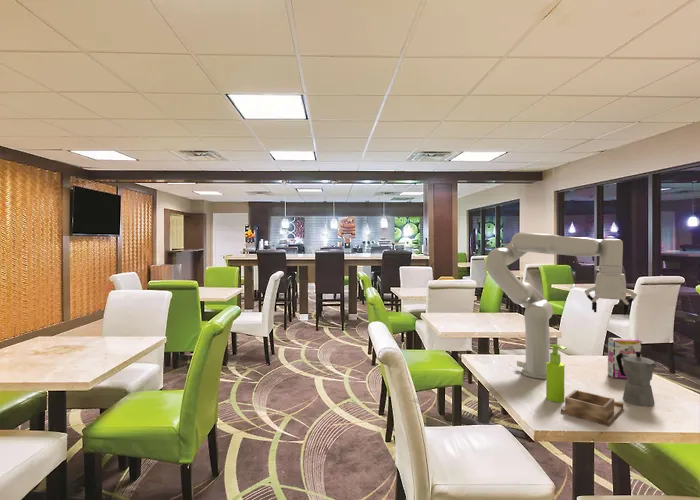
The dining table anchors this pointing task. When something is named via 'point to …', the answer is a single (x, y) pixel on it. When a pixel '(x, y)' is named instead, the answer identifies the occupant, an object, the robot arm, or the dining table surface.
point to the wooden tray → (592, 407)
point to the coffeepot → (637, 378)
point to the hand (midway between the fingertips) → (609, 313)
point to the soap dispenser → (555, 376)
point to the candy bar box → (620, 346)
